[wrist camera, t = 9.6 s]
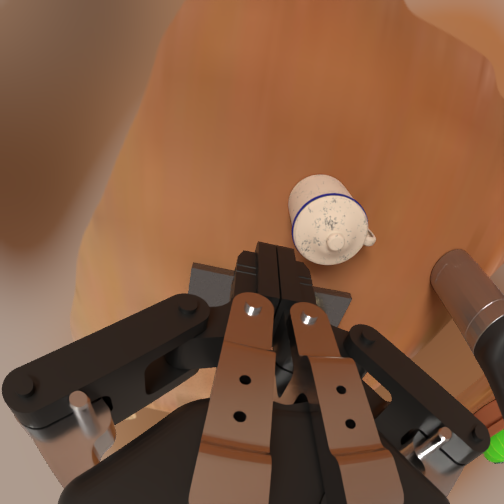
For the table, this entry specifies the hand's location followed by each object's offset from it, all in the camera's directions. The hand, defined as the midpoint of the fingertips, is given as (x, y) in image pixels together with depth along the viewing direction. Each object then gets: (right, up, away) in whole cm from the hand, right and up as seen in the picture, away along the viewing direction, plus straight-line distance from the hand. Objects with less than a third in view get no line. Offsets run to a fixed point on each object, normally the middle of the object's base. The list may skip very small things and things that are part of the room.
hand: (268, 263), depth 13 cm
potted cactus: (+89, -60, +67) cm, 126 cm away
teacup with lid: (+10, +7, +30) cm, 32 cm away
